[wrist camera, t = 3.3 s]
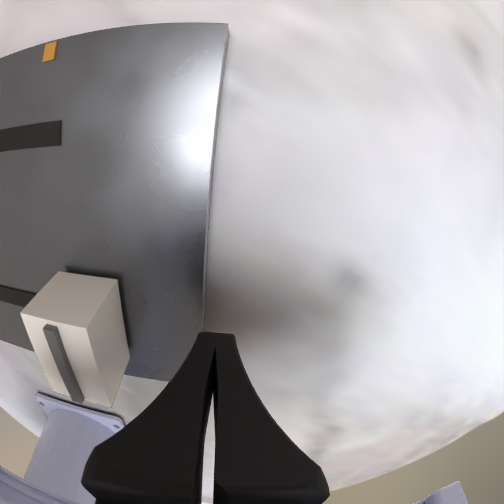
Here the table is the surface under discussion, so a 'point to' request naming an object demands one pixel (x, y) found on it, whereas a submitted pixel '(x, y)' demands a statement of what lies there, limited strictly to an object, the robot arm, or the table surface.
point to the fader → (79, 336)
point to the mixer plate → (113, 177)
